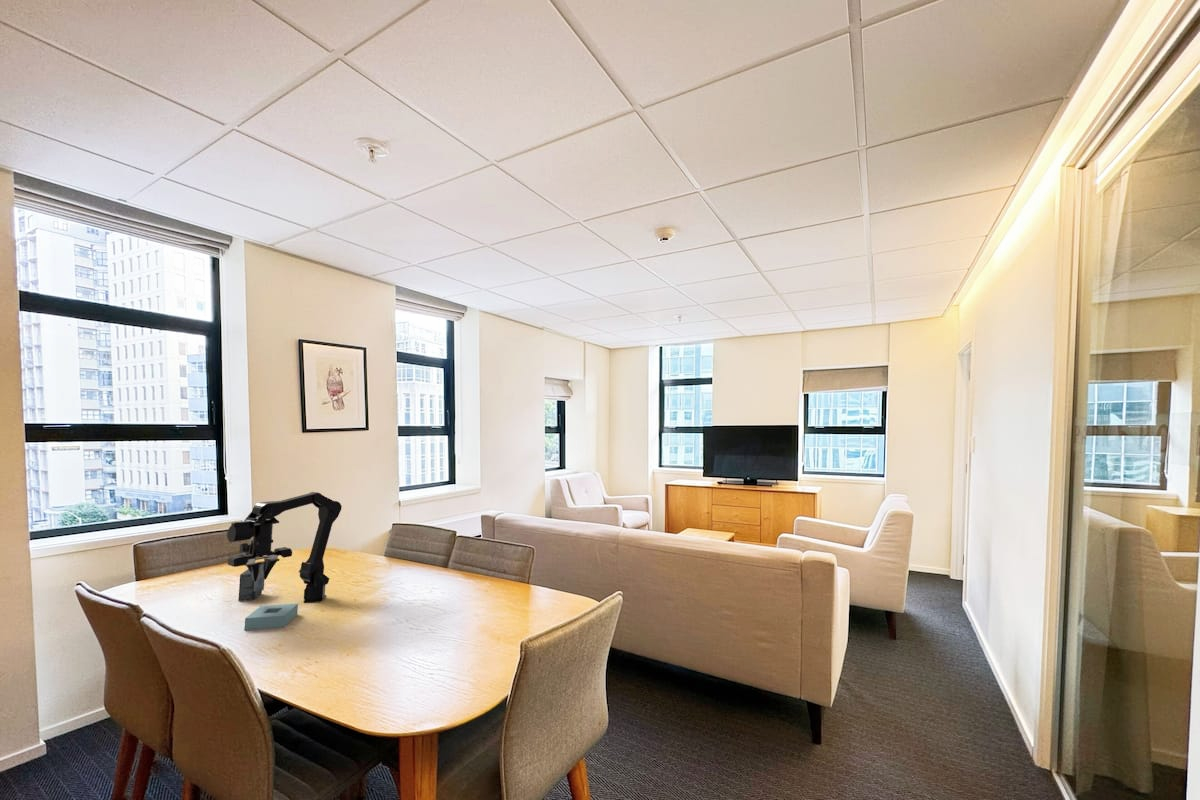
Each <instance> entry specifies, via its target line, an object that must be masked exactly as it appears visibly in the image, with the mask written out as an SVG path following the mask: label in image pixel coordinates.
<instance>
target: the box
mask: <svg viewBox="0 0 1200 800" xmlns="http://www.w3.org/2000/svg"><path fill="white" fill-rule="evenodd" d="M261 593H263V590H262V591H258V592H255V591H254V582H253V580H252V577H251V574H250V571H249V569H248V568H247V569H246V570H245V571H243V572H242V573H240V574H239V588H238V602H243V600H247V601H255V600H256V599H257V598H258V597H259V596H261V595H262V594H261ZM254 599H255V600H254Z"/></svg>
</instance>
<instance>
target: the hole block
mask: <svg viewBox="0 0 1200 800" xmlns="http://www.w3.org/2000/svg"><path fill="white" fill-rule="evenodd" d="M298 606H299V603H286V604H285V603H283V604H282V603H281V604H266V605H260V606H259V607H258V608H256V609H255V610H254V611H252V612H251V613H250V614H249V615H247V616H246V617H245V618H244V628H243V629H244V631H251V630H252V631H253V630H255V631H256V630H267V629H279V628H282V629H283V628H286V626H288V625H289V624H290V622H291V621H292V620H293V619H294V618H295V617H297V616H298V609H299V607H298Z"/></svg>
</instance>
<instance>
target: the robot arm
mask: <svg viewBox="0 0 1200 800" xmlns="http://www.w3.org/2000/svg"><path fill="white" fill-rule="evenodd" d="M311 504H312V505H313V506H314V507H315V508H317V509H318V514H317V515H318V520H319V522H318V523H319V524H318V526H317V529H316V532H315V536H314V540H313V544H312V546H311V551H310V554H309V557H308V559H307V560H306V561H302V562H301V565H300V568H299V570H298V573H299V578H300V580H302V581H303V583H304V584H305V588H304V589H303V591H304V592H303V602H302V603H314V602H315V601H319V602H322V601H324V600H325V598H326V597H327V594H326V585H328V584H329V582H330V577H328V576H327V575H326V574H325V573H324V572H325V564H324V555H325V552H326V549H327V545H328V541H329V537H330V534H331V531H332V526H333V523H334V522H335V521H336V520H337V519H338V517H339V515H340V513H341V511H342V508H343V507H342V504H341V502H339V501H337V500H333V499H331V498H329V497H327V496H325V495H323V494H321V492H316V491H310V492H308V493H306V494H305V493H304V494H302V495H298V496H293V497H290V498H287V499H282V500H275V501H274V500H272V501H261V502H257V503H255V505H254V506H253V507H252V509H251V510H252V511H251V512H250V513H248V515H247V517H246V518H245V519H244V521H233V522H231V524H230V526H229V527H228V530H227V532H226V533H227V534H226V538H227V540H228V542H230V543H234V542H235V543H236V542H241V541H248V540H250V539H251V541H250V544H248V542H245V543H240V544H239V554H236V555H232V556H229V558H228V559H227V566H231V567H234V568H236V567H242V566H245V567H246V568H247V570H248V569H249V571H250V574H251V577H252V580H253V582H255V581H256V577H257V566H258V564H257V563H256V561H257V560H263V561H265V562H266V566H265V580H267V578H268V576H269V574H271V573H270V572H271V570H273V568H274V566H275V565H276V563H277V562H279V561H280V558H279V556H280V557H281V558H289V557H290V558H291V557H292V556H293V550H292V549H291V548H290V547H286V546H284V547H282V546H281V547H277V548H274V550H272V543H274V539H273V526H274V525H275V524H280V521H279V520H278V519H277V518H276V517H277V516H279V515H281V514H282V513H283V512H285V511H289V510H293V509H297V508H300V507H305V506H308V505H311ZM244 554H245V555H244ZM315 603H316V602H315Z"/></svg>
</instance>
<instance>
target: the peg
mask: <svg viewBox="0 0 1200 800" xmlns="http://www.w3.org/2000/svg"><path fill="white" fill-rule="evenodd" d="M255 563H257V564H258V566H257V577H256V581H255V582H254V591H255V592H258V591H262V592H263V591H264V590H265V580H266V579H265V566H266V562H265V561H264V560H263V561H255Z"/></svg>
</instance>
